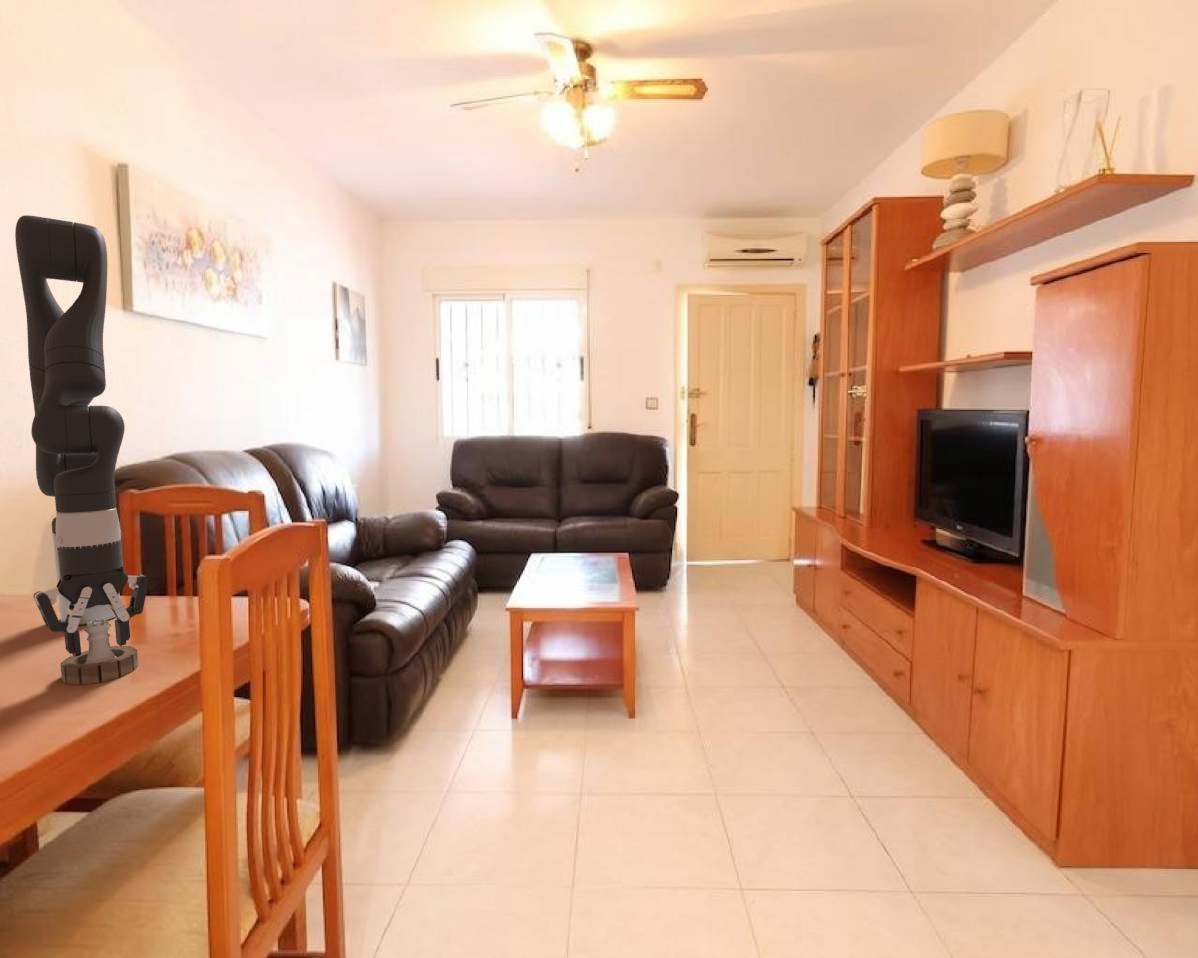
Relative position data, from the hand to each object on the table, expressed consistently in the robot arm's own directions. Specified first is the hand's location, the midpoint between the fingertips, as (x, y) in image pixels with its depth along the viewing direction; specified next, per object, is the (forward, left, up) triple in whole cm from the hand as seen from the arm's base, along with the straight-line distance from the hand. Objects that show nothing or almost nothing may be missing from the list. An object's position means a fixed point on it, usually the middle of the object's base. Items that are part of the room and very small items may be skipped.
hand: (99, 648), depth 97 cm
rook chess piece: (0, 0, -4) cm, 4 cm away
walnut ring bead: (0, 0, -4) cm, 4 cm away
